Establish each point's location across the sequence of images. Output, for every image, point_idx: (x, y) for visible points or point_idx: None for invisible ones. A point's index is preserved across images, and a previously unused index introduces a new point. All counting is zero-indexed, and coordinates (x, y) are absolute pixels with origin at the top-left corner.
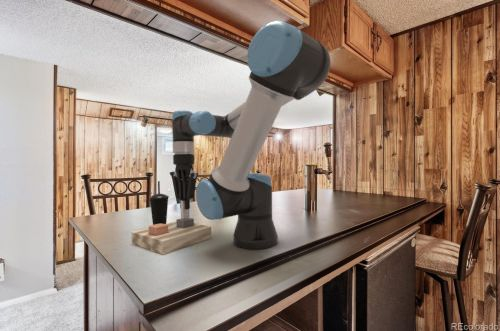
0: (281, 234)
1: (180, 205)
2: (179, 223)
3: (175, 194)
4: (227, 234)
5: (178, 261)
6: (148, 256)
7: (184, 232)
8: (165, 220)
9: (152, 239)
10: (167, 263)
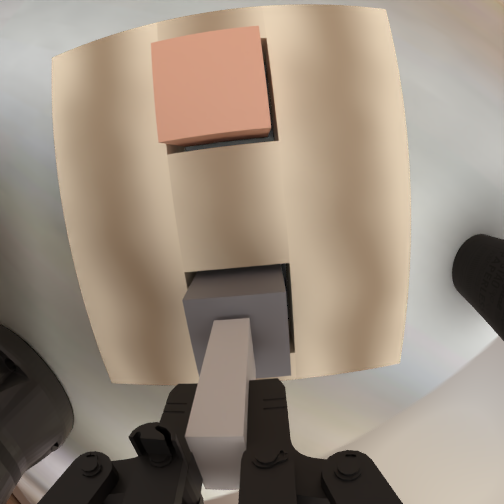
0: (45, 457)
1: (277, 400)
2: (245, 285)
3: (386, 487)
4: (132, 411)
5: (2, 100)
6: (116, 21)
7: (98, 220)
8: (477, 305)
9: (139, 30)
10: (15, 65)
